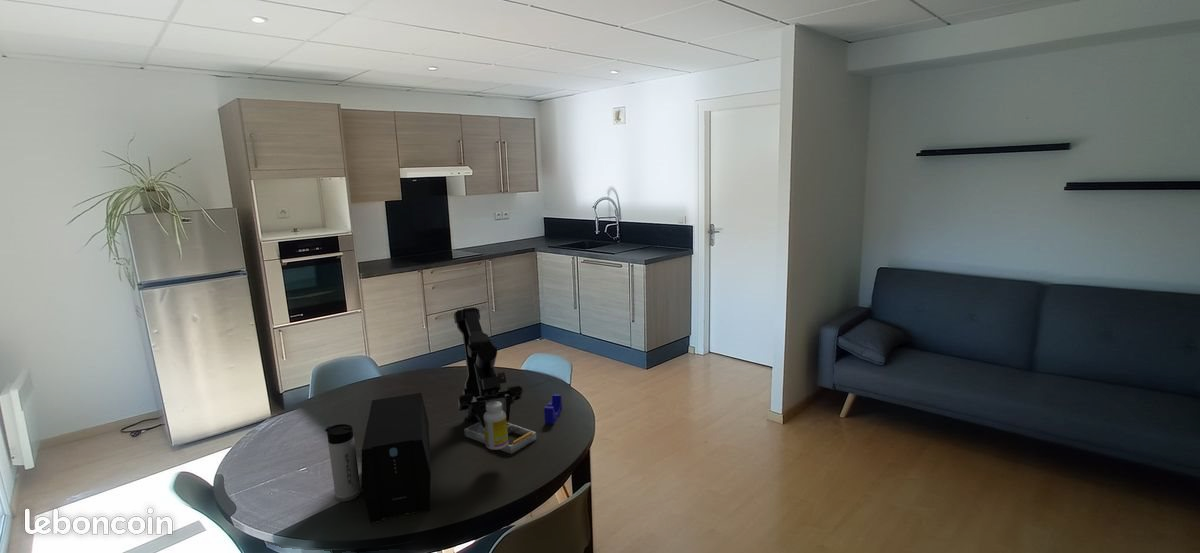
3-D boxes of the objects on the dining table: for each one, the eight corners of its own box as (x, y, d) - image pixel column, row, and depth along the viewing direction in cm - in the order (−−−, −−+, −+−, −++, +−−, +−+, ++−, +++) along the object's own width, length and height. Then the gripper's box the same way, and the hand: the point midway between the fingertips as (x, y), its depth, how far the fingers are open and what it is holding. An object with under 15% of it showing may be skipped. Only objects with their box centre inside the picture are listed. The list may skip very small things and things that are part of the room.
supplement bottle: (512, 441, 162) (509, 400, 160) (501, 452, 156) (498, 410, 154) (492, 438, 164) (489, 398, 162) (481, 448, 158) (477, 407, 156)
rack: (464, 436, 180) (464, 426, 179) (490, 423, 188) (489, 414, 188) (511, 454, 167) (510, 444, 166) (536, 439, 176) (535, 429, 175)
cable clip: (550, 409, 198) (549, 393, 197) (562, 409, 198) (561, 394, 196) (541, 424, 187) (540, 407, 186) (553, 424, 186) (552, 408, 185)
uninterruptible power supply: (366, 524, 135) (356, 450, 131) (375, 459, 167) (368, 398, 163) (434, 510, 140) (427, 438, 136) (431, 449, 172) (425, 390, 168)
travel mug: (339, 489, 151) (330, 422, 147) (364, 487, 151) (355, 421, 148) (330, 502, 145) (321, 433, 141) (356, 500, 145) (347, 431, 141)
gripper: (456, 369, 156) (465, 420, 148) (519, 359, 163) (531, 407, 155) (454, 385, 164) (463, 435, 157) (514, 375, 171) (525, 421, 163)
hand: (496, 424), depth 158 cm, fingers closed on supplement bottle, 7 cm apart
